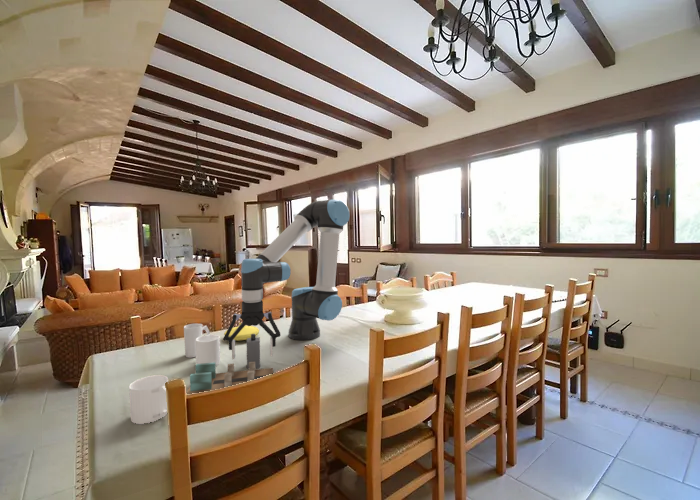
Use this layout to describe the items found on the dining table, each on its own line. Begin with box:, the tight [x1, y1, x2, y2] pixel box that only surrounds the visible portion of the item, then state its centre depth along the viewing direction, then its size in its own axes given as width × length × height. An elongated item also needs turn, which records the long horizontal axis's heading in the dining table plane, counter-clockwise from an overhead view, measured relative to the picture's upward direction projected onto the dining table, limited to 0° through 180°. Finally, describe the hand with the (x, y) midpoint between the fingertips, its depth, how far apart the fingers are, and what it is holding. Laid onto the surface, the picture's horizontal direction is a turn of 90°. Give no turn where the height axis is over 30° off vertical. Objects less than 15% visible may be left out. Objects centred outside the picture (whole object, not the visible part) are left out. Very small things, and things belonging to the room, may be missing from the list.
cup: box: [195, 334, 221, 367], centre depth 125 cm, size 8×12×10 cm
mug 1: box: [128, 374, 169, 425], centre depth 89 cm, size 12×9×9 cm
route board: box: [185, 362, 274, 394], centre depth 108 cm, size 26×14×6 cm, turn 104°
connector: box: [246, 334, 261, 370], centre depth 122 cm, size 4×4×12 cm
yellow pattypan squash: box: [223, 322, 260, 342], centre depth 153 cm, size 16×16×7 cm
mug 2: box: [183, 323, 211, 359], centre depth 134 cm, size 10×7×12 cm, turn 139°
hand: (252, 356), depth 122 cm, fingers open, 13 cm apart
